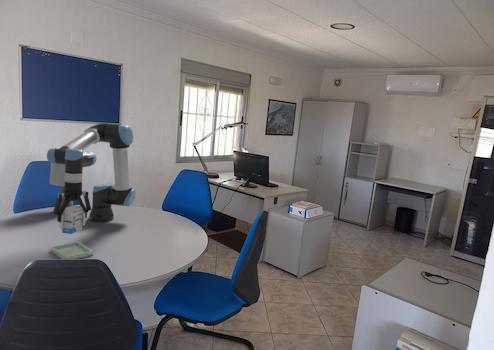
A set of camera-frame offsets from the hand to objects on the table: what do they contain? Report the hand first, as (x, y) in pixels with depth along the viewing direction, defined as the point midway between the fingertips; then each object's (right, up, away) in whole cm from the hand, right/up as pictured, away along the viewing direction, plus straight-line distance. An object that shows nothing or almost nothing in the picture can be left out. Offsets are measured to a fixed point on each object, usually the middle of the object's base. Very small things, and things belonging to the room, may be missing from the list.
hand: (72, 226), depth 164 cm
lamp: (-41, 0, +68) cm, 79 cm away
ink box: (0, -3, 0) cm, 3 cm away
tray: (-1, -14, +2) cm, 14 cm away
